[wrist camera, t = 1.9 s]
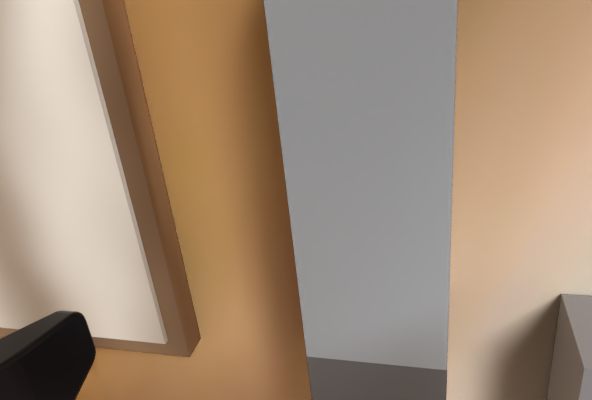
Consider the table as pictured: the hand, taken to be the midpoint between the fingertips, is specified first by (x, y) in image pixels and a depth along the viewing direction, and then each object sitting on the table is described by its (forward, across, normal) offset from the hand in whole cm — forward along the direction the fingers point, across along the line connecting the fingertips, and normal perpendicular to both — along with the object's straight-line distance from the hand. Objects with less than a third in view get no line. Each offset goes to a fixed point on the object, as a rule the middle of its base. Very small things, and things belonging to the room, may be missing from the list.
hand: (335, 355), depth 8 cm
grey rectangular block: (+8, 0, 0) cm, 8 cm away
